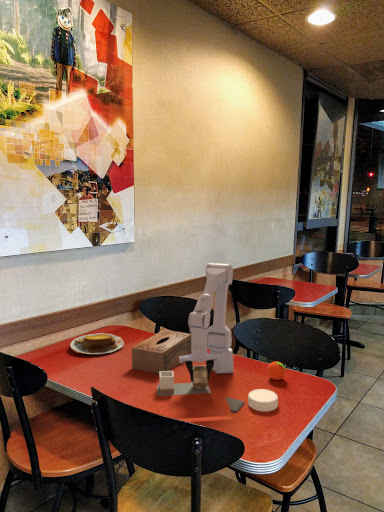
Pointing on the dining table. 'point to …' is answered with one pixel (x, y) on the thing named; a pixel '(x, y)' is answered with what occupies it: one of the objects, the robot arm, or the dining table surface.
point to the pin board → (185, 389)
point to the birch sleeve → (199, 376)
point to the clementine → (276, 370)
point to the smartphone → (234, 404)
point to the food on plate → (96, 343)
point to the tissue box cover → (161, 351)
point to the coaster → (262, 400)
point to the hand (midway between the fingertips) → (199, 380)
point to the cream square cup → (166, 381)
